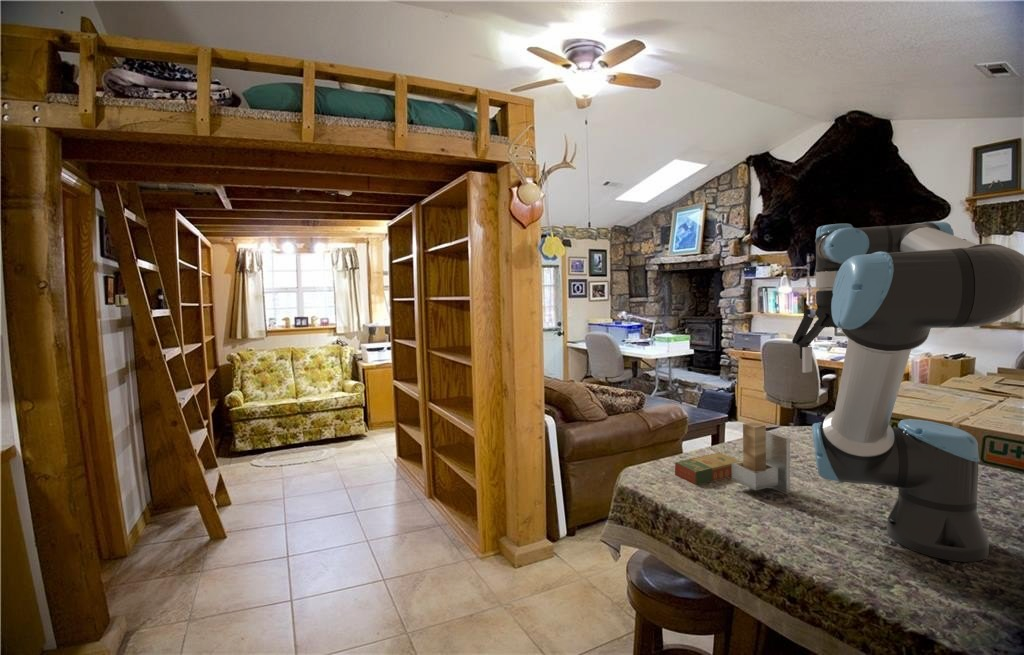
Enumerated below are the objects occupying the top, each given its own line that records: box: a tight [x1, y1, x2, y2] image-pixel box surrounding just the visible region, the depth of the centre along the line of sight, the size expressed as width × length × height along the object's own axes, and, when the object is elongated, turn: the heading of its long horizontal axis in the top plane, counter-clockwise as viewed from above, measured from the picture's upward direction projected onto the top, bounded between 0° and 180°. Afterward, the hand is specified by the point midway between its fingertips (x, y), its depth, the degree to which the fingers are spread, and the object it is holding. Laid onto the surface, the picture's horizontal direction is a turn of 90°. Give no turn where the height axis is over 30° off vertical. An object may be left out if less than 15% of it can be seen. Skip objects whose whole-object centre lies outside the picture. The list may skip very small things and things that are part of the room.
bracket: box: [731, 430, 791, 495], centre depth 123 cm, size 10×10×14 cm
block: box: [742, 421, 767, 472], centre depth 122 cm, size 4×4×14 cm
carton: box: [674, 452, 741, 486], centre depth 134 cm, size 8×16×4 cm, turn 111°
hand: (833, 375), depth 120 cm, fingers open, 13 cm apart
